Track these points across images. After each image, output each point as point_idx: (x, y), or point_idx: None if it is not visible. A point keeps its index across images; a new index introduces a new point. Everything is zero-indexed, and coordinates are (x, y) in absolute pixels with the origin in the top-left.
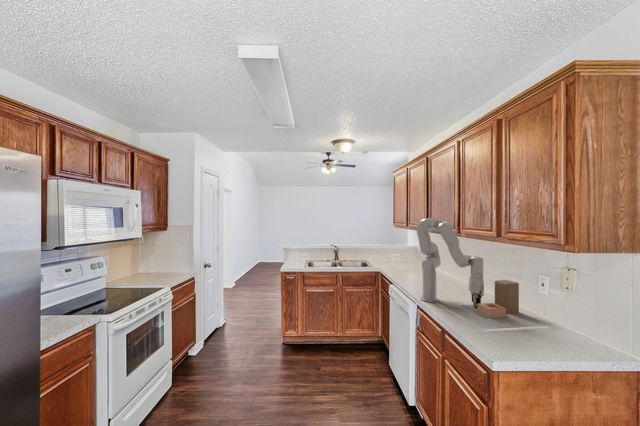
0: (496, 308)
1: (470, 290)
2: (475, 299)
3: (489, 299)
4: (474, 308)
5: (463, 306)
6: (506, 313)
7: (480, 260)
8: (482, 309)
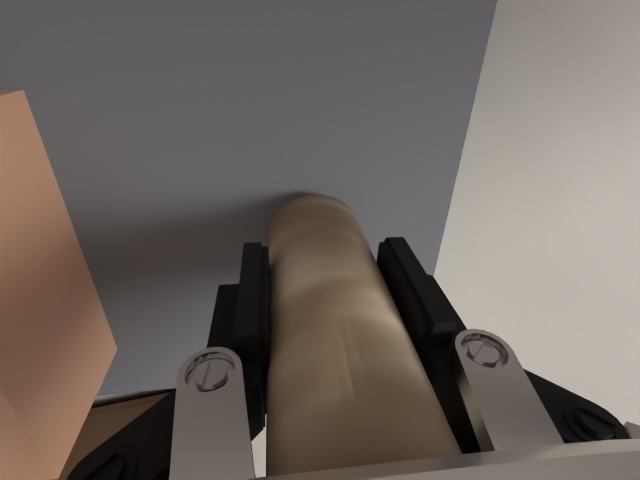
0: None
1: (605, 476)
2: (291, 297)
3: None
4: (265, 174)
5: (414, 30)
6: None
7: None
8: None
